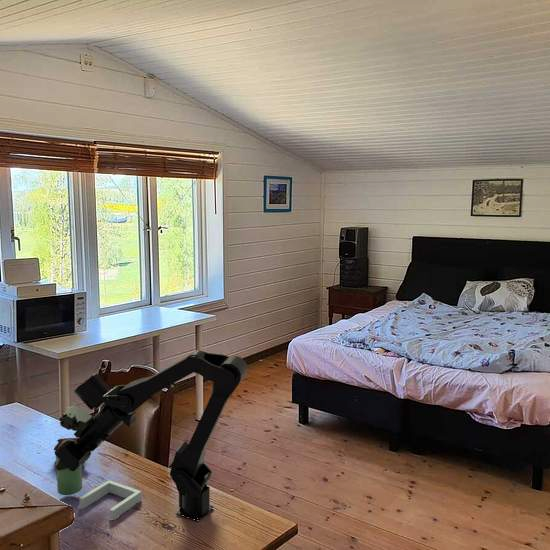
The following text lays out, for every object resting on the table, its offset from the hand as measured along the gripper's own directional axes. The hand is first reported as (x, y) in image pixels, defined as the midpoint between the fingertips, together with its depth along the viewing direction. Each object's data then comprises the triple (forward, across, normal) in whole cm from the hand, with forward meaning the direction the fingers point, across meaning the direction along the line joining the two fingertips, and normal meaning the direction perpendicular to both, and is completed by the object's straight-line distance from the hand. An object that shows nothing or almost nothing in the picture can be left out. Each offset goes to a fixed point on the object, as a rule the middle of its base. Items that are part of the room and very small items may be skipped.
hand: (63, 462), depth 134 cm
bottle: (+4, 0, +6) cm, 7 cm away
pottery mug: (+11, -16, +2) cm, 19 cm away
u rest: (-2, +2, +15) cm, 15 cm away
